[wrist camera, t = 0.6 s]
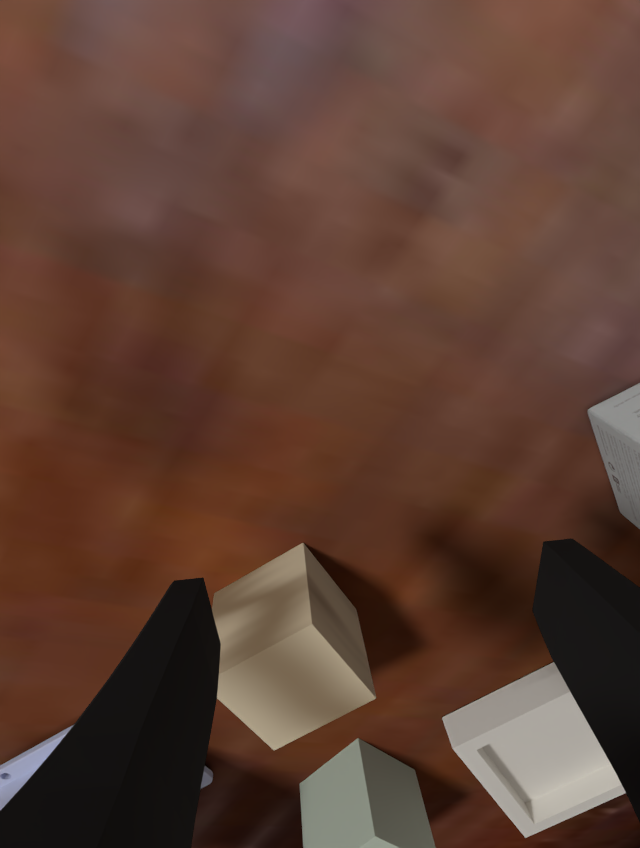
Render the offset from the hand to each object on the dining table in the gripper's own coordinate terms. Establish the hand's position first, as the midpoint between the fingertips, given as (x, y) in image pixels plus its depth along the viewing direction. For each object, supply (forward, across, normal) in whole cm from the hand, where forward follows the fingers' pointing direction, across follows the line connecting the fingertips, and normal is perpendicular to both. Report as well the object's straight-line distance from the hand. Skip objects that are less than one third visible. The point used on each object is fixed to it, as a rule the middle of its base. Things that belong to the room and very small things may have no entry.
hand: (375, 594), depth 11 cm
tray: (+10, -12, +23) cm, 28 cm away
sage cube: (+9, 0, +25) cm, 26 cm away
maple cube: (+10, +3, +10) cm, 15 cm away
